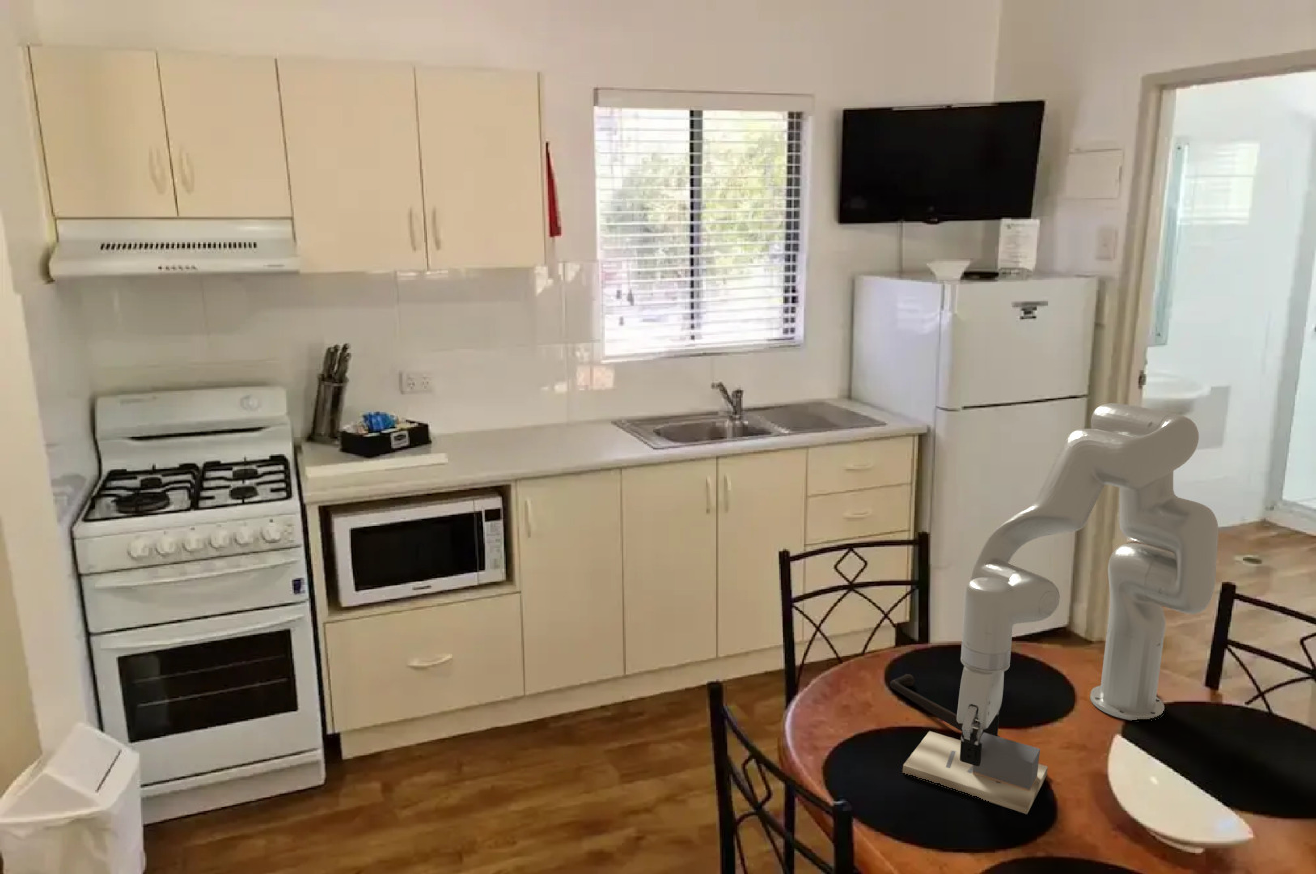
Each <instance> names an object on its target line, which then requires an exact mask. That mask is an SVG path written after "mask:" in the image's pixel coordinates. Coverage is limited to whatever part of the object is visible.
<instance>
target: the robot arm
mask: <svg viewBox="0 0 1316 874" xmlns="http://www.w3.org/2000/svg"><path fill="white" fill-rule="evenodd" d="M1090 427H1091V428H1080V429H1076V430H1073V431H1072V432H1071V433H1069V434H1068V435H1067V437H1066V439H1065V440H1064V442H1063V444H1062V446H1061V448H1060V450H1059V451H1058V454H1057V456H1056V458H1055V460H1054V462H1053V463H1052V466H1051V468H1050V470H1049V472H1048V474H1047V476H1046V478H1045V480H1044V482H1043V485H1042V487H1041V488H1040V491H1038V495H1037V496H1036V498H1035V500H1034V502H1032V504H1031V505H1030V506H1029V507H1027V508H1025V509H1024V510H1022V511H1020V512H1018V513H1016V514H1015V515H1013V516H1011V517H1010V518H1009V519H1007V520H1006V521H1004V523H1002V524H1000V525H999V526H998V527H997V528H996V529H995V530H994V531H992V533H991V534H990V535H989V536H988V538H987V540H986V541H985V542H984V545H983V547H982V549H981V551H980V553H979V554H978V557H977V559H976V561H975V562H974V566H973V568H972V570H971V574H970V580H969V581H968V583H967V584H966V587H965V589H964V602H963V616H962V632H961V634H962V635H961V636H962V637H961V648H960V649H961V650H960V663H961V664H962V665H963V668H962V669H963V670H962V673H961V674H962V675H961V679H960V686H959V687H960V688H959V695H958V704H957V711H956V714H957V722H958V723H962V724H963V726H962V731H961V734H960V735H961V736H960V740H961V747H960V761H962V762H965V763H968V764H971V765H974V766H980V764H981V751H982V743H980V740H981V736H982V734H983V733H987V734H991V735H994V736H999V734H998V733H999V724H1000V723H999V722H1000V716H999V714H1000V709H1001V707H1002V702H1003V695H1004V682H1005V681H1004V678H1005V672H1006V671H1007V670H1009V668H1010V665H1011V664H1010V663H1011V654H1012V653H1011V652H1012V639H1013V638H1012V637H1013V627H1014V625H1016V624H1027V623H1036V622H1040V621H1041V622H1042V621H1043V620H1046V619H1048V618H1049V617H1051V616H1052V615H1053V614H1054V613H1055V612H1056V611H1057V609H1058V606H1059V604H1060V599H1061V596H1060V591H1059V588H1058V586H1057V585H1056V584H1055V583H1054V582H1053V581H1051V580H1050V579H1049V578H1047V577H1045V576H1043V575H1040V574H1038V573H1035V572H1032V571H1029V570H1026V569H1023V568H1022V567H1021V568H1020V567H1018V566H1016V565H1013V564H1010V561H1011V559H1012V558H1013V556H1014V555H1015V554H1016V553H1017V551H1018V550H1019V549H1021V547H1022V546H1024V545H1026V544H1027V543H1029V542H1031V541H1033V540H1036V539H1039V538H1042V537H1045V536H1046V537H1047V536H1052V535H1058V534H1063V533H1064V534H1065V533H1066V534H1067V533H1073V532H1078V531H1080V530H1081V529H1083V528H1084V527H1085V525H1086V524H1087V522H1088V520H1089V517H1090V516H1091V513H1092V511H1093V509H1094V507H1095V505H1096V503H1097V500H1098V499H1099V497H1100V496H1101V493H1102V491H1103V490H1104V487H1105V486H1106V485H1108V486H1113V487H1115V488H1119V497H1118V498H1119V499H1118V500H1119V501H1118V502H1119V503H1118V522H1119V523H1118V524H1119V529H1120V531H1121V533H1122V534H1123V535H1124V536H1125V537H1126V538H1128V539H1130V540H1133V541H1136V542H1128V543H1124V544H1121V545H1119V546H1117V548H1115V549H1114V551H1112V553H1111V555H1110V557H1109V560H1108V565H1107V566H1108V567H1107V576H1108V577H1107V578H1108V586H1109V609H1108V620H1107V628H1106V637H1105V645H1104V653H1103V654H1104V655H1103V662H1102V670H1101V671H1102V672H1101V681H1100V685H1097V686H1095V687H1093V688H1092V690H1091V691H1090V697H1089V698H1090V701H1091V703H1092V704H1093V706H1094V707H1096V708H1097V709H1098V710H1100V711H1102V712H1103V713H1105V714H1107V715H1110V716H1113V717H1115V718H1118V719H1121V720H1127V721H1132V720H1137V719H1150V718H1154V717H1157V716H1159V715H1161V714H1162V713H1163V711H1164V712H1165V705H1164V703H1163V701H1162V700H1161V699H1160V698H1159V697H1158V696H1157V694H1158V693H1157V692H1158V687H1159V686H1158V685H1159V679H1160V678H1159V677H1160V671H1161V665H1162V655H1163V647H1164V640H1165V635H1166V617H1165V613H1164V610H1163V607H1165V608H1168V609H1171V610H1173V611H1177V612H1178V613H1179V612H1180V613H1183V614H1187V615H1189V614H1190V615H1195V614H1196V615H1197V614H1199V613H1203V612H1204V611H1205V610H1206V609H1207V608H1208V607H1209V605H1210V603H1211V601H1212V599H1213V596H1214V592H1215V588H1216V587H1215V586H1216V574H1217V559H1218V545H1219V524H1218V520H1217V517H1216V515H1215V513H1214V512H1213V510H1212V509H1211V508H1209V507H1208V506H1207V505H1205V504H1203V503H1200V502H1197V501H1193V500H1189V499H1186V498H1182V497H1180V496H1179V497H1178V496H1177V495H1176V493H1175V492H1174V471H1175V470H1177V469H1178V468H1180V467H1181V466H1183V465H1184V464H1186V463H1187V462H1188V461H1189V460H1190V459H1191V457H1192V456H1193V455H1194V453H1195V452H1196V450H1197V447H1198V444H1199V438H1200V437H1199V436H1200V435H1199V430H1198V427H1197V426H1196V423H1195V422H1194V421H1193V419H1191V418H1188V417H1187V416H1184V415H1181V414H1177V413H1173V412H1167V411H1161V410H1157V409H1150V408H1146V407H1141V406H1135V405H1130V404H1126V403H1125V404H1124V403H1117V402H1115V403H1114V402H1112V403H1111V402H1110V403H1105V404H1100V405H1099V406H1098V407H1096V408H1095V409H1094V410H1093V412H1092V414H1091V419H1090ZM1137 542H1138V543H1137ZM976 721H977V722H976ZM963 722H964V723H963ZM976 723H978V724H976ZM973 728H975V729H978V731H977V735H976V736H975V734H974V733H972V731H973Z"/></svg>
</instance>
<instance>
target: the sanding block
mask: <svg viewBox="0 0 1316 874" xmlns="http://www.w3.org/2000/svg"><path fill="white" fill-rule="evenodd" d="M998 736H999V735H998ZM998 736H994V735H991V734H987V733H983V734H982V736H981V740H980V743H982V751H981V764H980V766H974V765H973V774H976V775H979V776H982V777H986V778H989V779H992V780H995V781H998V782H1001V783H1005V784H1008V785H1011V786H1014V787H1017V788H1020V789H1023V790H1027V791H1030V790H1031V788H1032V786H1033V784H1034V782H1035V780H1036V778H1037V773H1038V764H1040V762H1039V761H1040V756H1041V754H1040V753H1041V748H1038V747H1035V746H1032V745H1029V744H1025V743H1021V742H1017V741H1014V740H1011V739H1008V738H1004V737H1001V736H999V737H998Z"/></svg>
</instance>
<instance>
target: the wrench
mask: <svg viewBox="0 0 1316 874" xmlns="http://www.w3.org/2000/svg"><path fill="white" fill-rule="evenodd" d="M914 683H915V677H914V676H913V675H912V674H910V673H908V674H907V673H905V674H904V675H902V676H900V677H897V678H894V679H892V680H891V681H890V683H889V685H890V687H891V688H892V689H893V690H894V691H896V692H897V693H899V694H900V695H902V696H904V697H905V698H907V699H909V700H910V701H911V702H913V703H916V704H917V705H918V706H920V707H922V709H924V710H926V711H928V712H929V713H931V714H933V715H934V716H936V717H937V718H939V719H940V720H942V721H944V722H946V723H947V724H948V725H950V726H952V727H954V728H955V729H957V730H959V732H962V726H963V724H962V723H958V722H957V713H955V712H953V711H951V710H950V709H947V708H945V707H943V706H941V705H939V704H937V703H936V702H933V701H932V700H930V699H928V698H926V697H925V696H922V695H920V694H919V693H917V692H915V691H913V690H911V689H909V688H907V687H912V686H913V685H914ZM963 723H964V722H963ZM975 723H976V724H978V722H975ZM977 731H978V729H975V728H973V731H972V733H974V734H975V736H976V735H977ZM998 737H1000V736H999V735H998Z"/></svg>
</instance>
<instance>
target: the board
mask: <svg viewBox="0 0 1316 874" xmlns="http://www.w3.org/2000/svg"><path fill="white" fill-rule="evenodd" d="M960 747H961V739H957V738H954V737H950V736H947V735H944V734H941V733H937V732H934V731H931V730H929V731H928V732H927V734H926V735H925V736H924V737H923V738H922V740H921V742H920V743H919V744H918V745H917V746H916V748H915V749H914V750H913V752H911V754H910V756H909V757H908V758H907V759H906V761H905V762H904V763H903V765H902V774H903V773H905V774H904V775H906V774H908V775H907V776H909V775H913V776H916V777H918V778H917V779H919V778H922V779H926V780H929V781H932V782H934V783H940V784H941V785H944V786H947V787H949V788H953V789H956V790H958V791H962V792H965V793H968V794H970V795H972V796H971V797H973V796H977V797H979V798H981V799H980V800H982V799H983V801H985V800H986V801H985V802H988V801H989V803H992V804H993V805H994V804H995V805H998V806H1001V807H1004V808H1007V809H1010V810H1014V811H1017V812H1018V813H1022V814H1025V815H1028V813H1029V811H1030V809H1031V807H1032V806H1033V804H1034V801H1035V799H1036V798H1037V796H1038V793H1039V791H1040V789H1041V788H1042V786H1043V784H1044V781H1045V779H1046V778H1047V776H1048V768H1049V767H1048V766H1047V765H1044V764H1040V763H1039V764H1038V773H1037V778H1036V780H1035V782H1034V784H1033V786H1032V788H1031V790H1030V791H1027V790H1023V789H1020V788H1017V787H1014V786H1011V785H1008V784H1005V783H1001V782H998V781H995V780H992V779H989V778H986V777H982V776H979V775H976V774H973V765H971V764H968V763H965V762H962V761H960ZM922 779H921V780H922ZM934 783H933V784H934ZM949 788H948V789H949ZM958 791H957V792H958ZM970 795H969V796H970ZM979 798H978V799H979Z"/></svg>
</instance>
